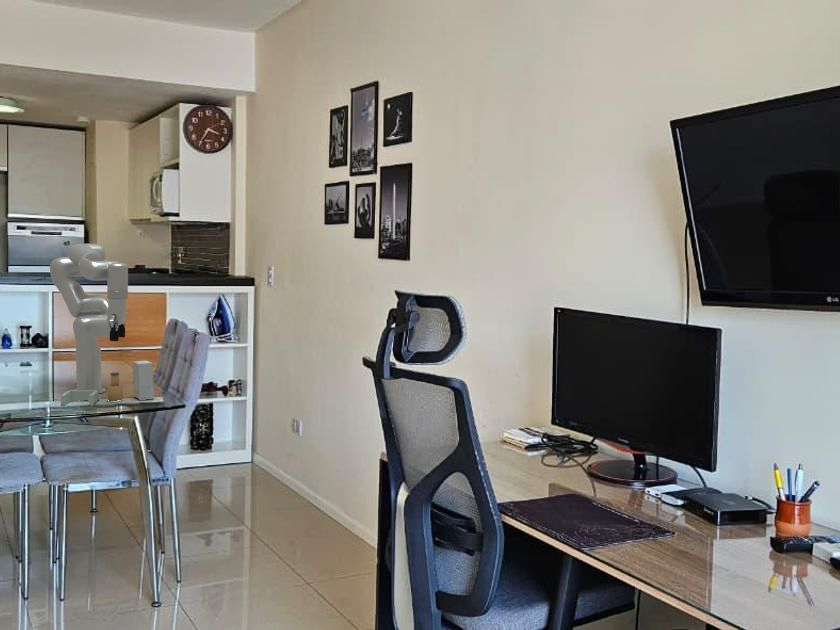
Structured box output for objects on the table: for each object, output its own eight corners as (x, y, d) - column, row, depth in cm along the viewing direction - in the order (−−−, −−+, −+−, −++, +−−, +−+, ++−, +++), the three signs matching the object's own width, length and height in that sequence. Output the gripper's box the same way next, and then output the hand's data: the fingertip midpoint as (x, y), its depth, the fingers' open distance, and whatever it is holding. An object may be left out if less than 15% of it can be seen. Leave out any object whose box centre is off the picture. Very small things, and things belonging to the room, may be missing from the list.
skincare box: (154, 399, 353) (153, 362, 352) (138, 401, 350) (138, 363, 348) (147, 396, 360) (147, 359, 359) (132, 397, 357) (132, 360, 355)
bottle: (109, 399, 352) (109, 371, 351) (124, 399, 353) (123, 371, 352) (106, 402, 347) (105, 374, 346) (121, 402, 347) (120, 374, 346)
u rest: (68, 400, 348) (68, 390, 348) (98, 400, 350) (98, 390, 349) (61, 405, 338) (61, 395, 338) (92, 405, 339) (92, 395, 339)
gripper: (113, 292, 352) (113, 335, 354) (101, 297, 335) (101, 342, 337) (133, 293, 353) (133, 336, 355) (121, 297, 336) (121, 342, 338)
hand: (117, 339), depth 346 cm, fingers open, 9 cm apart
